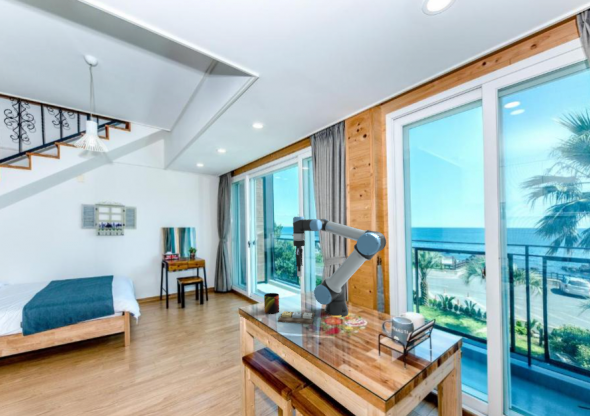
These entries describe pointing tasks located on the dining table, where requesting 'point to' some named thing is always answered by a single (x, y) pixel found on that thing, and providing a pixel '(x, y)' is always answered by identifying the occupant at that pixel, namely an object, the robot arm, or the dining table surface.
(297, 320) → the board
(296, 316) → the two-dot tile
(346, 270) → the robot arm
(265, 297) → the mug
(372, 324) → the dining table surface
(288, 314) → the tile
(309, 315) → the tile
